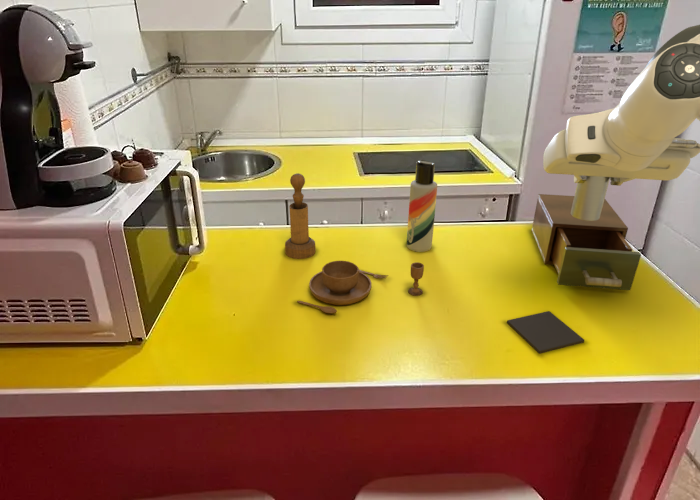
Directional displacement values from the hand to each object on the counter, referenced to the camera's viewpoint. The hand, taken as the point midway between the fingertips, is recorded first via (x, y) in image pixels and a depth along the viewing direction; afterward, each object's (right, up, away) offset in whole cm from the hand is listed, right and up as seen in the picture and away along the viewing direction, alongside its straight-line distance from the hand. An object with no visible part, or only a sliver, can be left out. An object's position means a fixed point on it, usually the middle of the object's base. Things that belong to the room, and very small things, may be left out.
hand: (596, 180), depth 87 cm
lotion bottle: (-26, -11, +30) cm, 41 cm away
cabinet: (+8, -12, +29) cm, 33 cm away
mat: (-8, -26, +1) cm, 27 cm away
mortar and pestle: (-52, -12, +27) cm, 60 cm away
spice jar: (0, -6, +4) cm, 7 cm away
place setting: (-40, -21, +11) cm, 46 cm away
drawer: (+6, -16, +18) cm, 25 cm away
